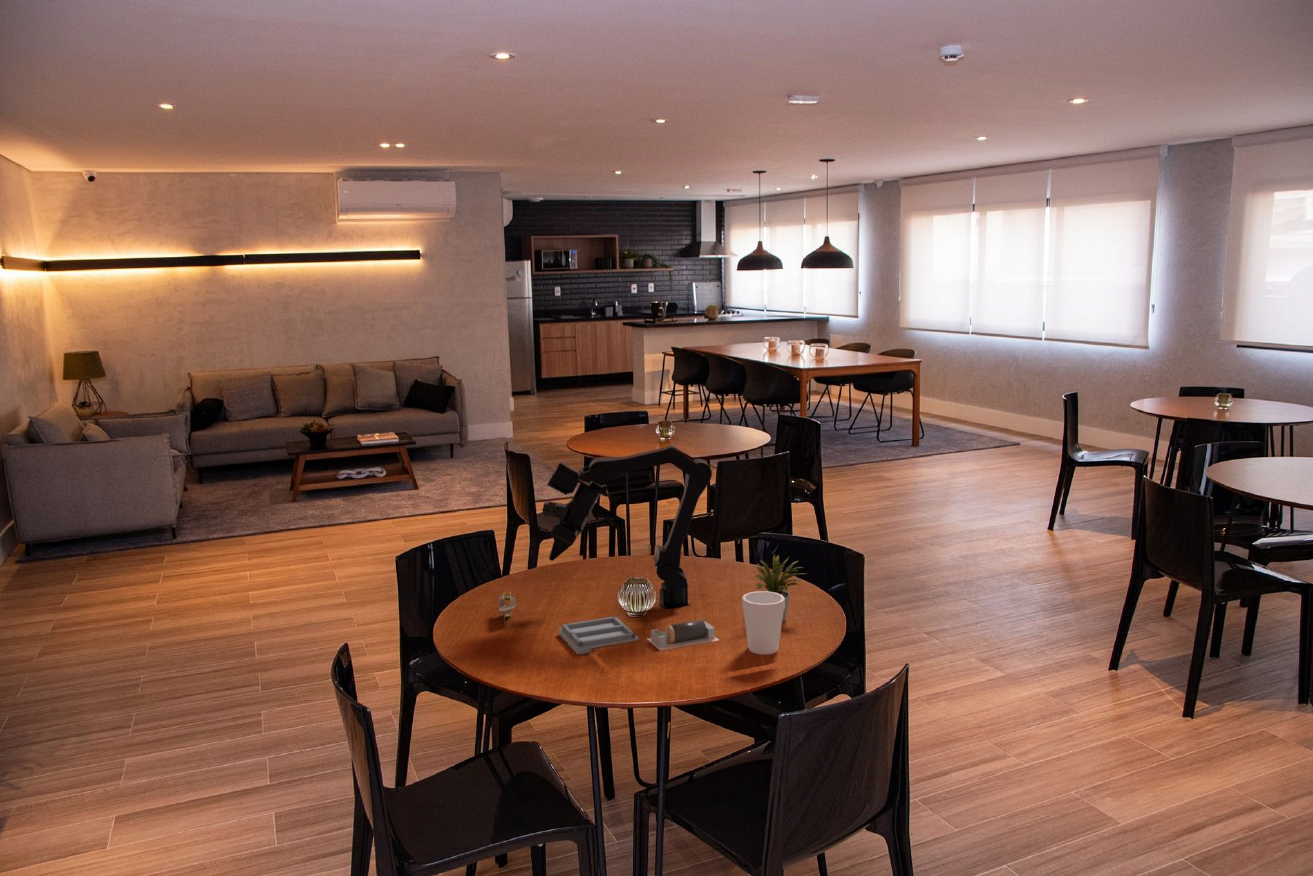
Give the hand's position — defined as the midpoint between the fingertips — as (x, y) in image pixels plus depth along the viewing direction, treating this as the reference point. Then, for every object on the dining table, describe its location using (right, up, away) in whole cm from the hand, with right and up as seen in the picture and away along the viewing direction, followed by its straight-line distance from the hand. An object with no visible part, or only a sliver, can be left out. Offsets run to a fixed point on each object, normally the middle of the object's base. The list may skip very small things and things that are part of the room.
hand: (553, 556), depth 244 cm
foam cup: (+50, -19, -28) cm, 61 cm away
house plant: (+55, -15, -7) cm, 58 cm away
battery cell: (+33, -17, -22) cm, 43 cm away
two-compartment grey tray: (+13, -17, -18) cm, 28 cm away
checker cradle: (+33, -18, -22) cm, 43 cm away
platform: (-11, -16, -4) cm, 20 cm away
